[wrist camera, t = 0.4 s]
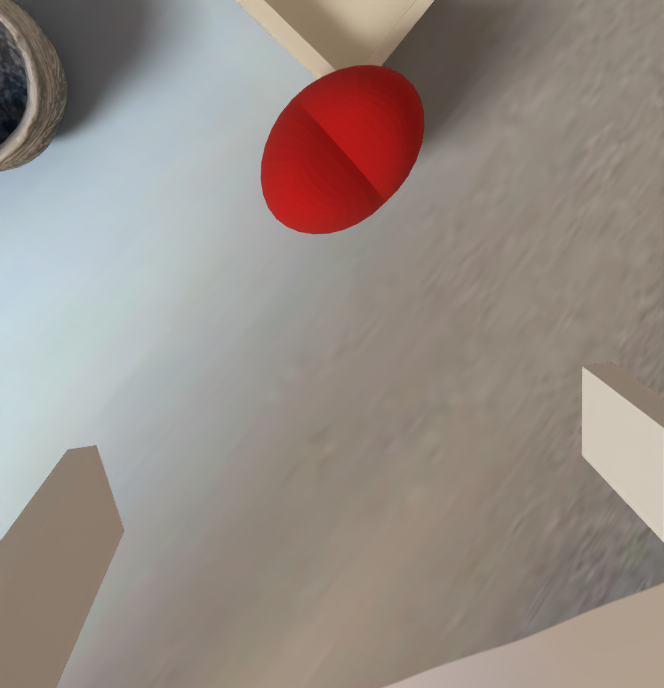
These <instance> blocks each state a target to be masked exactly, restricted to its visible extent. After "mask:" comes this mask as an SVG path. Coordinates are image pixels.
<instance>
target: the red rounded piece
mask: <svg viewBox="0 0 664 688" xmlns="http://www.w3.org/2000/svg"><path fill="white" fill-rule="evenodd" d="M423 132H424V111H423V108H422V104H421V100H420V97H419V95H418V93H417V91H416V90H415V88H414V86H413V84H412V83H411V82H409V81H408V80H407V79H406V78H405V77H404V76H403V75H402V74H400V73H398V72H396V71H393V70H391V69H389V68H386V67H381V66H376V65H356V66H351V67H347V68H343V69H339V70H336V71H334V72H332V73H329V74H327V75H325V76H322V77H321V78H319V79H318V80H316V81H315V82H313V83H311V84H310V85H308V86H307V87H306V88H304V89H303V90H302V91H301V92H300V93H299V94H298V95H297V96H296V97H294V98H293V99H292V100H291V102H290V103H289V104H288V105H287V106H286V108H285V109H284V110H283V111H282V112H281V114H280V115H279V117H278V119H277V121H276V122H275V124H274V126H273V127H272V129H271V132H270V134H269V137H268V140H267V142H266V145H265V148H264V153H263V157H262V162H261V184H262V190H263V195H264V198H265V200H266V203H267V206H268V208H269V209H270V211H271V212H272V213H273V215H274V216H275V218H276V219H277V220H279V221H280V222H281V223H283V224H284V225H285V226H287V227H289V228H291V229H294V230H296V231H298V232H303V233H310V234H327V233H333V232H337V231H341V230H344V229H347V228H349V227H351V226H353V225H356V224H358V223H360V222H361V221H363V220H364V219H366V218H367V217H369V216H370V215H372V214H373V213H374V212H375V211H377V210H378V209H379V208H380V207H381V206H382V205H383V204H384V203H385V202H386V201H387V200H388V199H389V198H390V197H391V196H392V195H393V194H394V193H395V192H396V191H397V190H398V189H399V188H400V186H401V185H402V183H403V182H404V181H405V179H406V178H407V177H408V175H409V173H410V171H411V169H412V167H413V165H414V164H415V162H416V159H417V156H418V153H419V150H420V148H421V145H422V139H423Z"/></svg>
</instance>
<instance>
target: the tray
mask: <svg viewBox="0 0 664 688" xmlns="http://www.w3.org/2000/svg"><path fill="white" fill-rule="evenodd" d="M235 1H236V2H237V3H238V4H239V5H240V6H241V7H242V8H243V9H244V10H245V11H246V12H247V13H248V14H249V15H251V16H252V17H253V18H254V19H255V20H256V21H257V22H258V23H259V24H260V25H261V26H262V27H263V28H264V29H265V30H266V31H267V32H268V33H269V34H270V35H271V36H272V37H274V38H275V39H276V40H277V41H278V42H279V43H280V44H281V45H282V46H283V47H284V48H285V49H286V50H287V51H288V52H289V53H290V54H291V55H292V56H293V57H294V58H295V59H297V60H298V61H299V62H300V63H301V64H302V65H303V66H304V67H305V68H306V69H307V70H308V71H309V72H310V73H311V74H312V75H313V76H314V77H315V78H316V79H317V80H318V79H319V78H321V77H322V76H325V75H327V74H329V73H332V72H334V71H336V70H339V69H343V68H347V67H351V66H356V65H376V66H382V64H383V63H384V62H385V61H386V59H387V58H388V57H389V56H390V55H391V53H392V52H393V51H394V50H395V48H396V47H397V46H398V45H399V43H400V42H401V41H402V40H403V39H404V37H405V36H406V35H407V34H408V32H409V31H410V30H411V29H412V27H413V26H414V25H415V24H416V22H417V21H418V20H419V19H420V18H421V16H422V15H423V14H424V13H425V11H426V10H427V9H428V8H429V6H430V5H431V4H432V3H433V1H434V0H235Z"/></svg>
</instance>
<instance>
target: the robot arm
mask: <svg viewBox="0 0 664 688" xmlns="http://www.w3.org/2000/svg"><path fill="white" fill-rule="evenodd" d="M582 456H583V457H584V458H585V459H586V460H587V461H588V462H589V463H590V464H591V465H592V466H593V467H594V468H595V470H596V471H597V472H598V473H599V474H600V475H601V476H602V477H603V478H604V479H605V480H606V481H607V482H608V483H609V484H610V486H611V487H612V488H613V489H614V490H615V491H616V492H617V493H618V494H619V495H620V496H621V497H622V498H623V499H624V500H625V502H626V503H627V504H628V505H629V506H630V507H631V508H632V509H633V510H634V511H635V512H636V513H637V514H638V515H639V516H640V518H641V519H642V520H643V521H644V522H645V523H646V524H647V525H648V526H649V527H650V528H651V529H652V530H653V531H654V532H655V534H656V535H657V536H658V537H659V538H660V539H661V540H662V541H663V542H664V398H663V397H662V396H660V395H659V394H657V393H656V392H654V391H653V390H651V389H650V388H648V387H647V386H645V385H644V384H642V383H641V382H640V381H638V380H637V379H635V378H634V377H632V376H631V375H629V374H628V373H626V372H625V371H623V370H622V369H620V368H619V367H617V366H616V365H614V364H613V363H612V362H606V363H600V364H594V365H588V366H583V369H582ZM123 532H124V528H123V525H122V522H121V519H120V516H119V513H118V510H117V507H116V504H115V501H114V498H113V494H112V491H111V488H110V485H109V482H108V479H107V476H106V473H105V470H104V467H103V464H102V461H101V458H100V455H99V452H98V449H97V446H96V445H94V446H88V447H82V448H76V449H70V450H67V451H66V453H65V454H64V455H63V457H62V458H61V460H60V461H59V462H58V464H57V465H56V466H55V468H54V469H53V470H52V472H51V473H50V474H49V476H48V477H47V479H46V480H45V481H44V483H43V484H42V485H41V487H40V488H39V489H38V491H37V492H36V493H35V495H34V496H33V498H32V499H31V500H30V502H29V503H28V504H27V506H26V507H25V508H24V510H23V511H22V513H21V514H20V515H19V517H18V518H17V519H16V521H15V522H14V523H13V525H12V526H11V527H10V529H9V530H8V532H7V533H6V534H5V536H4V537H3V538H2V540H1V541H0V688H56V687H57V684H58V682H59V680H60V677H61V675H62V673H63V670H64V668H65V666H66V664H67V661H68V659H69V657H70V654H71V652H72V650H73V647H74V645H75V643H76V641H77V638H78V636H79V634H80V631H81V629H82V627H83V624H84V622H85V620H86V617H87V615H88V613H89V611H90V608H91V606H92V604H93V601H94V599H95V597H96V594H97V592H98V590H99V588H100V585H101V583H102V581H103V578H104V576H105V574H106V571H107V569H108V567H109V565H110V562H111V560H112V558H113V555H114V553H115V551H116V548H117V546H118V544H119V542H120V539H121V537H122V535H123Z"/></svg>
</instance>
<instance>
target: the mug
mask: <svg viewBox="0 0 664 688" xmlns="http://www.w3.org/2000/svg"><path fill="white" fill-rule="evenodd" d="M66 103H67V79H66V75H65V72H64V69H63V66H62V63H61V60H60V58H59V56H58V54H57V51H56V50H55V48H54V47H53V45H52V44H51V42H50V41H49V39H48V38H47V36H46V35H45V34H44V32H43V31H42V30H41V28H40V27H39V26H38V24H37V23H36V22H35V20H34V19H32V18H31V17H30V16H29V15H28V13H27V12H25V11H24V10H23V9H22V8H21V7H19V6H18V5H17V4H16V3H14V2H13V1H12V0H0V172H1V171H5V170H9V169H13V168H17V167H20V166H22V165H24V164H26V163H28V162H30V161H32V160H33V159H35V158H36V157H37V156H39V155H40V154H41V153H42V152H43V151H44V150H45V149H46V148H47V147H48V146H49V144H50V142H51V141H52V139H53V138H54V136H55V135H56V133H57V131H58V128H59V126H60V124H61V121H62V118H63V115H64V112H65V108H66Z"/></svg>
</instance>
